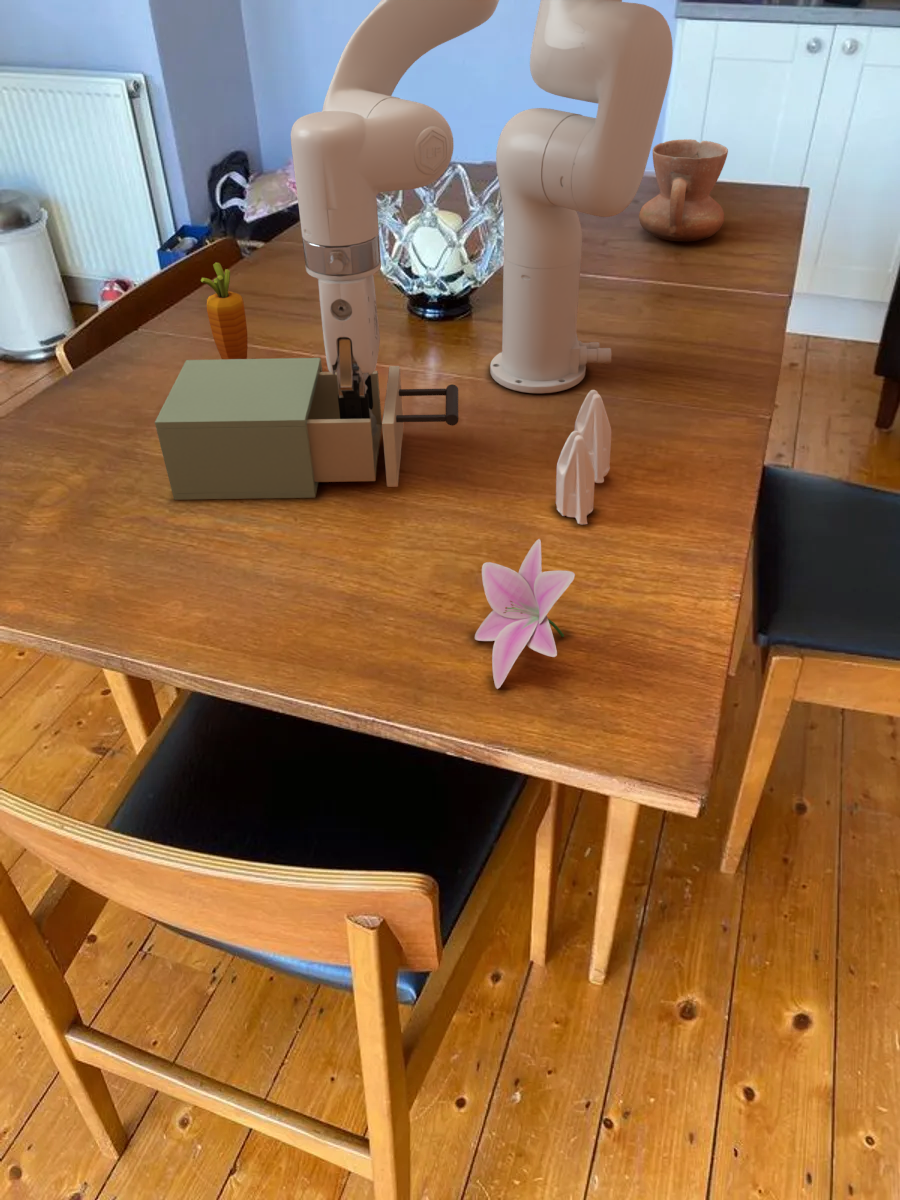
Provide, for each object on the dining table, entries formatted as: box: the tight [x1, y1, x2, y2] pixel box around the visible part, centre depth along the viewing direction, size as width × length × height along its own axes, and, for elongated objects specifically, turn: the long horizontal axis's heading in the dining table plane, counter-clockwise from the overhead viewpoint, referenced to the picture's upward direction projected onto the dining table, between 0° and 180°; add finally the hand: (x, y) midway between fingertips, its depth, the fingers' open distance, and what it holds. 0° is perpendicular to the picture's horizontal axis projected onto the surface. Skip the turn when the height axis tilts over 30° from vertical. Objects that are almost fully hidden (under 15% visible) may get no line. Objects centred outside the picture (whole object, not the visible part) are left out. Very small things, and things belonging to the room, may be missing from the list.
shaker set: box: [555, 389, 612, 526], centre depth 99 cm, size 12×4×11 cm, turn 159°
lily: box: [474, 538, 576, 690], centre depth 81 cm, size 12×12×10 cm
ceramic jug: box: [638, 138, 729, 243], centre depth 159 cm, size 18×14×14 cm
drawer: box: [307, 365, 459, 488], centre depth 105 cm, size 21×13×8 cm, turn 90°
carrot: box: [200, 262, 249, 359], centre depth 120 cm, size 5×5×15 cm
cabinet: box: [154, 357, 323, 501], centre depth 105 cm, size 16×15×10 cm
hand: (357, 416), depth 104 cm, fingers closed on rook chess piece, 3 cm apart
